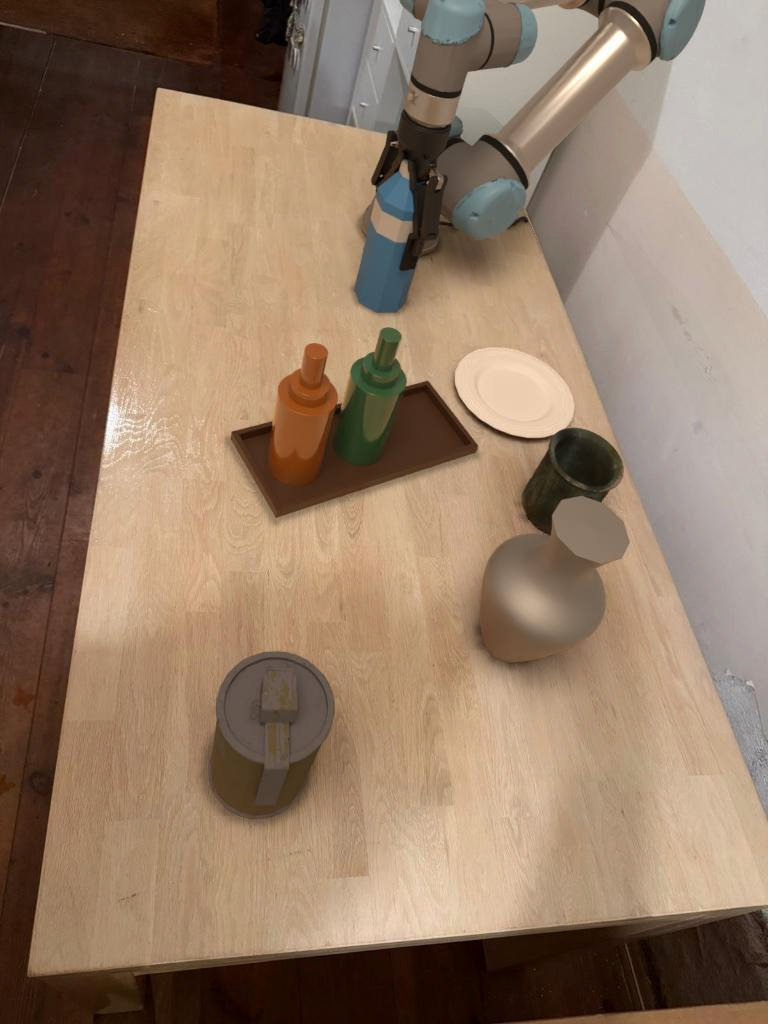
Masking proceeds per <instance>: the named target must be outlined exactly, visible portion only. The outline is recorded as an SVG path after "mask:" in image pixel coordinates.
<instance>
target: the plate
mask: <svg viewBox="0 0 768 1024" xmlns="http://www.w3.org/2000/svg"><path fill="white" fill-rule="evenodd" d="M454 387H455V389H456V392H457V394H458V397H459V399H460V400H461V401H462V403H463V404H464V406H465V407H466V408H467V410H468V411H469V412H470V413H472V414H473V415H474V416H475V417H476V418H477V419H478V420H479V421H480V422H483V423H484V424H485V425H487V426H489V427H490V428H491V429H494V430H497V431H499V432H500V433H501V432H502V433H504V434H507V435H508V436H513V437H517V438H523V439H545V438H549V437H552V436H553V435H554V434H555V433H557V432H558V431H560V430H562V429H565V428H568V426H569V425H570V423H571V422H572V420H573V419H574V416H575V415H574V414H575V410H576V406H575V400H574V395H573V393H572V391H571V390H570V387H569V385H568V384H567V382H566V381H565V379H563V378H562V376H561V375H560V374H559V373H558V372H557V371H556V370H555V369H553V367H551V366H550V365H549V364H548V363H546V362H544V361H542V360H541V359H539V358H537V357H535V356H534V355H532V354H529V353H526V352H524V351H522V350H517V349H514V348H508V347H502V346H501V347H500V346H499V347H497V346H488V347H483V348H479V349H475V350H473V351H471V352H468V353H467V354H465V355H464V356H463V357H462V359H460V360H459V361H458V363H457V366H456V368H455V371H454Z"/></svg>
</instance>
